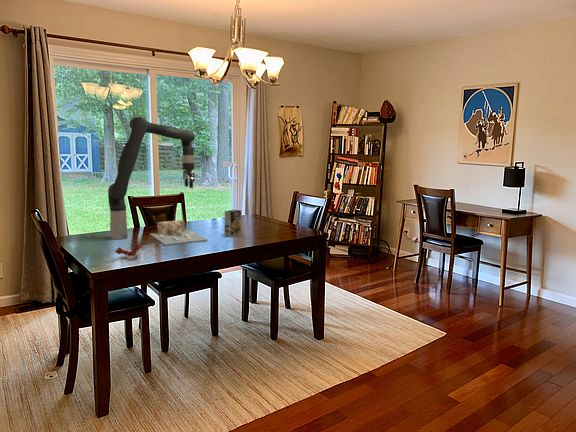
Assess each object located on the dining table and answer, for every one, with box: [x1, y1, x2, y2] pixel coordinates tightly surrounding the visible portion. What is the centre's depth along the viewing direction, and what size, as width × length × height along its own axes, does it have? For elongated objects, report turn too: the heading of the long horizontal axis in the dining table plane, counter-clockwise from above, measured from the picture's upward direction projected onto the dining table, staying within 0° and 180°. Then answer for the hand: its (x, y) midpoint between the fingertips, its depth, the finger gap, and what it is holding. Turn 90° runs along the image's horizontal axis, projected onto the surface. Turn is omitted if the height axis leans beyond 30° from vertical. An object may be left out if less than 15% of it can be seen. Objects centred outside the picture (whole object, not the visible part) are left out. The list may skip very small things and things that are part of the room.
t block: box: [156, 219, 186, 237], centre depth 284 cm, size 16×15×7 cm
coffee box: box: [224, 209, 242, 238], centre depth 287 cm, size 9×6×16 cm
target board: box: [150, 229, 209, 247], centre depth 278 cm, size 26×32×2 cm
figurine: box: [114, 243, 143, 260], centre depth 232 cm, size 15×12×7 cm
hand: (188, 187), depth 295 cm, fingers open, 8 cm apart
